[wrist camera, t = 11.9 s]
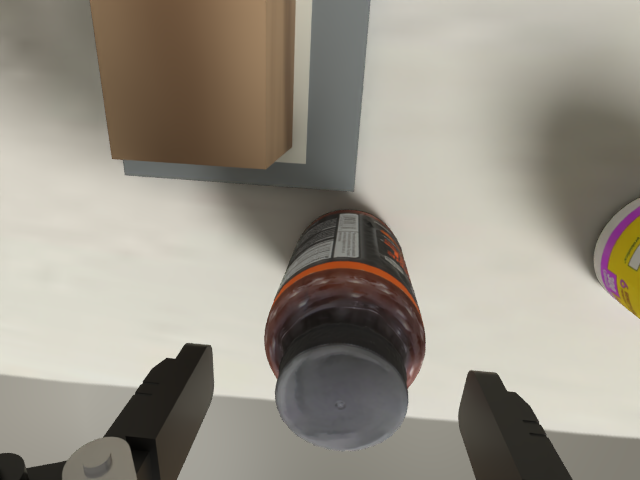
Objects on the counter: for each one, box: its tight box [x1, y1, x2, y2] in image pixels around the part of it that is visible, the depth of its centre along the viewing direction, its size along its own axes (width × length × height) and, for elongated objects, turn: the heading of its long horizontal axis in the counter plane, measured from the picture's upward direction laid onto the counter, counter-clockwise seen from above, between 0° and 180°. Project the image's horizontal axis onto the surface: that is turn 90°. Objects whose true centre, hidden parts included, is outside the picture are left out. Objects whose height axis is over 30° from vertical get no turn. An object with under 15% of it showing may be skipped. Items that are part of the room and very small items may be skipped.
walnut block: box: [90, 0, 296, 169], centre depth 15 cm, size 6×8×6 cm
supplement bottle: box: [264, 210, 426, 451], centre depth 17 cm, size 6×6×11 cm
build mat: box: [123, 0, 370, 192], centre depth 18 cm, size 12×12×1 cm
